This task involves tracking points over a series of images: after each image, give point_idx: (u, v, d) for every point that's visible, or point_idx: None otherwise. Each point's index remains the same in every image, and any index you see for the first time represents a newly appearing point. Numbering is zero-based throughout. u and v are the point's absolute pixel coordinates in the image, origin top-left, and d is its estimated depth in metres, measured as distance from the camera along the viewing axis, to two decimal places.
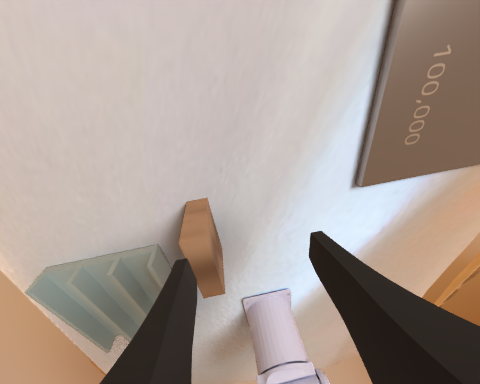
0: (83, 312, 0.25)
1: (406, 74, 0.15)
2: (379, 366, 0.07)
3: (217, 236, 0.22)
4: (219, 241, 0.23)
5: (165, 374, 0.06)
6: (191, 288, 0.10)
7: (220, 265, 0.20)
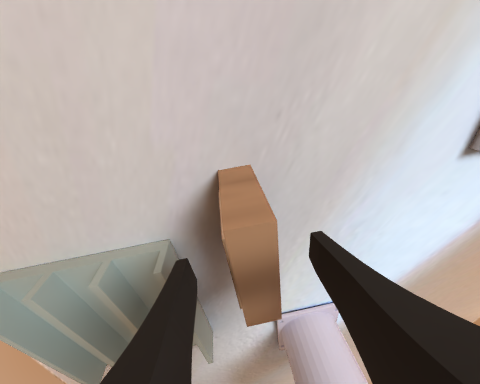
0: (59, 337, 0.17)
1: None
2: (379, 366, 0.07)
3: None
4: None
5: (165, 374, 0.06)
6: (191, 288, 0.10)
7: None
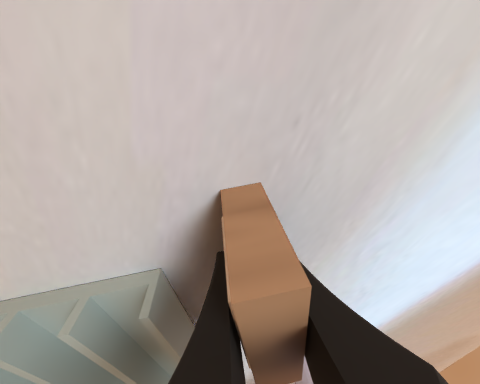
0: None
1: None
2: (318, 381, 0.07)
3: None
4: None
5: (234, 358, 0.06)
6: None
7: None
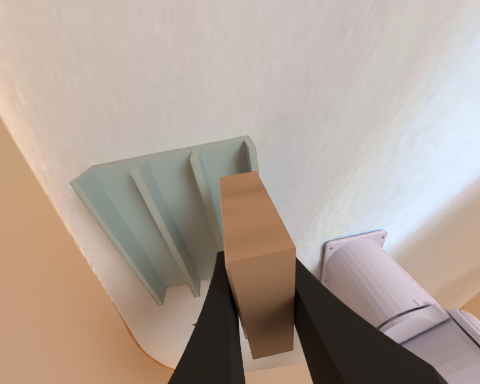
0: (135, 243, 0.18)
1: None
2: (318, 381, 0.07)
3: None
4: None
5: (234, 358, 0.06)
6: None
7: None
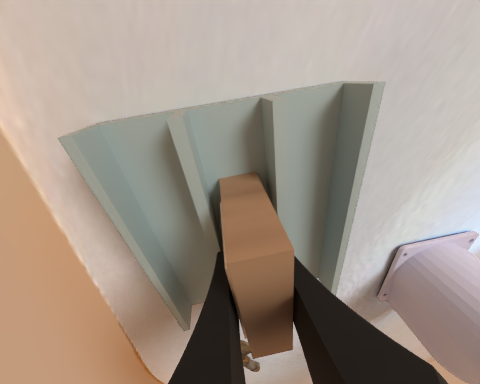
0: (157, 246, 0.13)
1: None
2: (318, 381, 0.07)
3: None
4: None
5: (234, 358, 0.06)
6: None
7: None
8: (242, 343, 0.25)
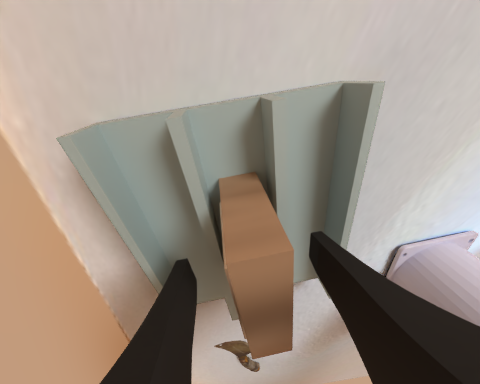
0: (157, 246, 0.12)
1: None
2: (379, 366, 0.07)
3: None
4: None
5: (165, 374, 0.06)
6: (191, 288, 0.10)
7: None
8: (242, 343, 0.25)
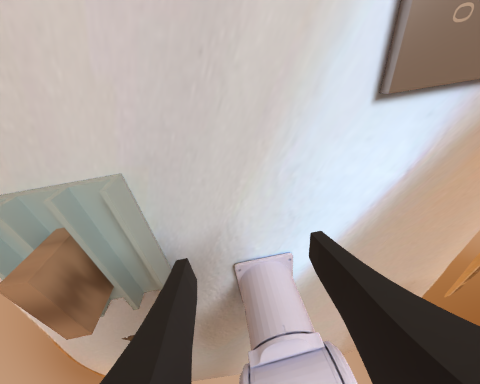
0: None
1: None
2: (379, 366, 0.07)
3: None
4: None
5: (165, 374, 0.06)
6: (191, 288, 0.10)
7: (92, 301, 0.18)
8: None
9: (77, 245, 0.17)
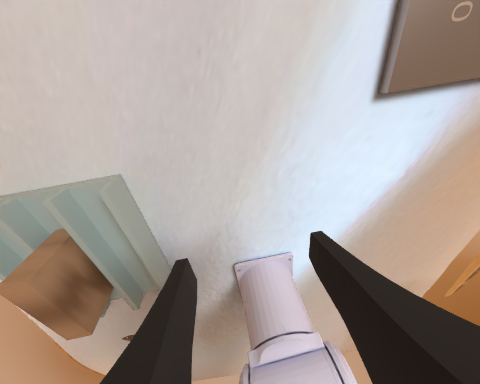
0: None
1: None
2: (379, 366, 0.07)
3: None
4: None
5: (165, 374, 0.06)
6: (191, 288, 0.10)
7: (92, 301, 0.18)
8: None
9: (77, 246, 0.17)
